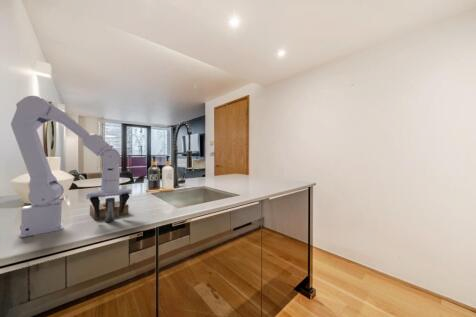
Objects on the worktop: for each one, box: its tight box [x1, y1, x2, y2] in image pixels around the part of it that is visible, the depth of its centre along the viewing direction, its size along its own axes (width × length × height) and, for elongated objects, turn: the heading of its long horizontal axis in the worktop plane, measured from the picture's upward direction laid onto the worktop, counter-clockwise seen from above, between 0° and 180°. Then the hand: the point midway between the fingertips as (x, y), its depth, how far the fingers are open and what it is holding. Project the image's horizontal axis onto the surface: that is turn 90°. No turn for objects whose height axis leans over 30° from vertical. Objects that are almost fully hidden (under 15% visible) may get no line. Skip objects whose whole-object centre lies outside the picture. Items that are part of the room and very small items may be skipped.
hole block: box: [89, 200, 129, 221], centre depth 80 cm, size 12×10×4 cm
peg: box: [104, 196, 116, 224], centre depth 72 cm, size 3×3×9 cm
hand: (109, 214), depth 72 cm, fingers open, 7 cm apart
